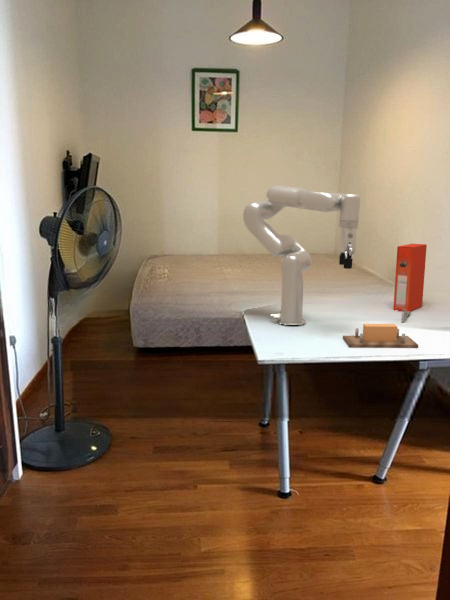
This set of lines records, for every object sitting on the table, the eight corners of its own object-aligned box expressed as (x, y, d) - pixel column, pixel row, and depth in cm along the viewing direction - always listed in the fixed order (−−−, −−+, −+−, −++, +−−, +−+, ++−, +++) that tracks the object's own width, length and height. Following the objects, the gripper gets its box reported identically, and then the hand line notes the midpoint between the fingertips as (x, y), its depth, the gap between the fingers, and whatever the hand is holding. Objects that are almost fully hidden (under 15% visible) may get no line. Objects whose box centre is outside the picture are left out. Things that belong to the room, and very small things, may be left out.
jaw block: (396, 341, 194) (397, 326, 193) (365, 341, 195) (365, 326, 193) (393, 338, 198) (394, 323, 197) (362, 338, 199) (363, 323, 197)
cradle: (349, 347, 191) (349, 335, 190) (342, 338, 203) (343, 327, 202) (418, 347, 190) (419, 335, 189) (407, 338, 202) (408, 327, 201)
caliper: (403, 323, 227) (404, 310, 225) (401, 323, 227) (402, 309, 226) (411, 314, 244) (412, 301, 243) (409, 313, 245) (409, 301, 243)
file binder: (392, 310, 251) (397, 246, 244) (406, 304, 264) (411, 243, 257) (408, 312, 246) (413, 247, 239) (422, 306, 258) (427, 244, 251)
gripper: (362, 226, 196) (359, 270, 199) (353, 223, 212) (349, 263, 216) (343, 226, 196) (340, 269, 200) (335, 223, 213) (332, 263, 217)
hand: (345, 266), depth 208 cm, fingers open, 9 cm apart
